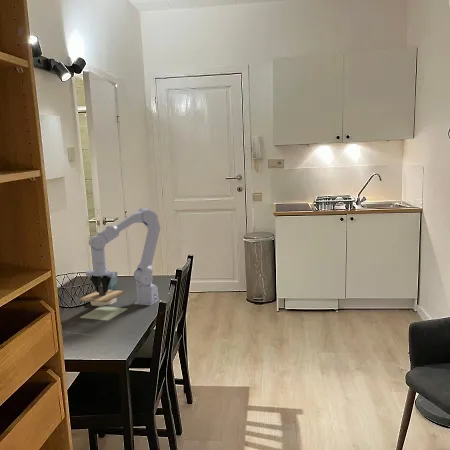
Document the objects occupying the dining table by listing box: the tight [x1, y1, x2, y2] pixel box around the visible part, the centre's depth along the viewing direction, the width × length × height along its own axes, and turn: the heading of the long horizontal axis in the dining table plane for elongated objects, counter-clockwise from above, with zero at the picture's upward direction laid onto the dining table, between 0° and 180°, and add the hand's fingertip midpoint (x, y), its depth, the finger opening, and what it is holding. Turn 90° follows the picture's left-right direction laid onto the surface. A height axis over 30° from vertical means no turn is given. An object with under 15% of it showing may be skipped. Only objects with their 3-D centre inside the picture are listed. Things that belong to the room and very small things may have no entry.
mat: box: [79, 305, 128, 321], centre depth 211 cm, size 15×15×1 cm
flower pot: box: [101, 271, 118, 290], centre depth 245 cm, size 9×9×9 cm
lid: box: [79, 285, 126, 303], centre depth 213 cm, size 14×14×5 cm
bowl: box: [89, 297, 118, 307], centre depth 226 cm, size 12×12×4 cm
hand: (102, 292), depth 213 cm, fingers closed on lid, 3 cm apart
